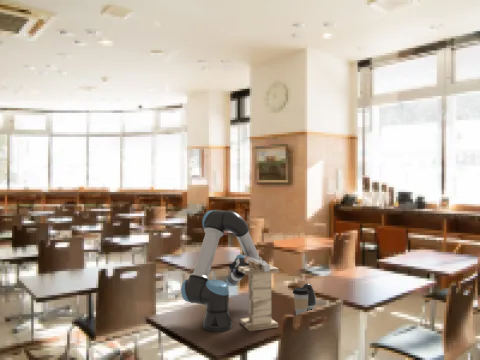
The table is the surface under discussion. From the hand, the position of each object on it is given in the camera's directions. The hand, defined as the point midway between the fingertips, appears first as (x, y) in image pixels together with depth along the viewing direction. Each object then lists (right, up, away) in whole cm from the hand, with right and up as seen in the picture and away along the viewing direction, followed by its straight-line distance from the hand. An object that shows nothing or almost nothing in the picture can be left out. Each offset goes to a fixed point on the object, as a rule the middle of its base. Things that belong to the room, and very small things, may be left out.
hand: (250, 259), depth 228 cm
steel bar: (+3, -1, -11) cm, 11 cm away
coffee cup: (+29, -32, +1) cm, 43 cm away
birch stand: (+4, -31, -14) cm, 35 cm away
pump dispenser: (+34, -32, +13) cm, 49 cm away
